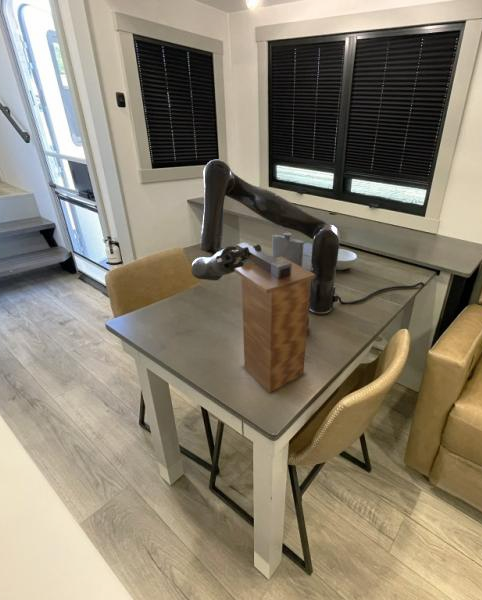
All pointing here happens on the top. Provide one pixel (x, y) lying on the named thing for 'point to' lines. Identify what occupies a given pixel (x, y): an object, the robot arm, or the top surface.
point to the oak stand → (275, 323)
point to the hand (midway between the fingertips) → (253, 249)
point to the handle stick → (267, 261)
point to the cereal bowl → (345, 259)
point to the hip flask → (288, 248)
